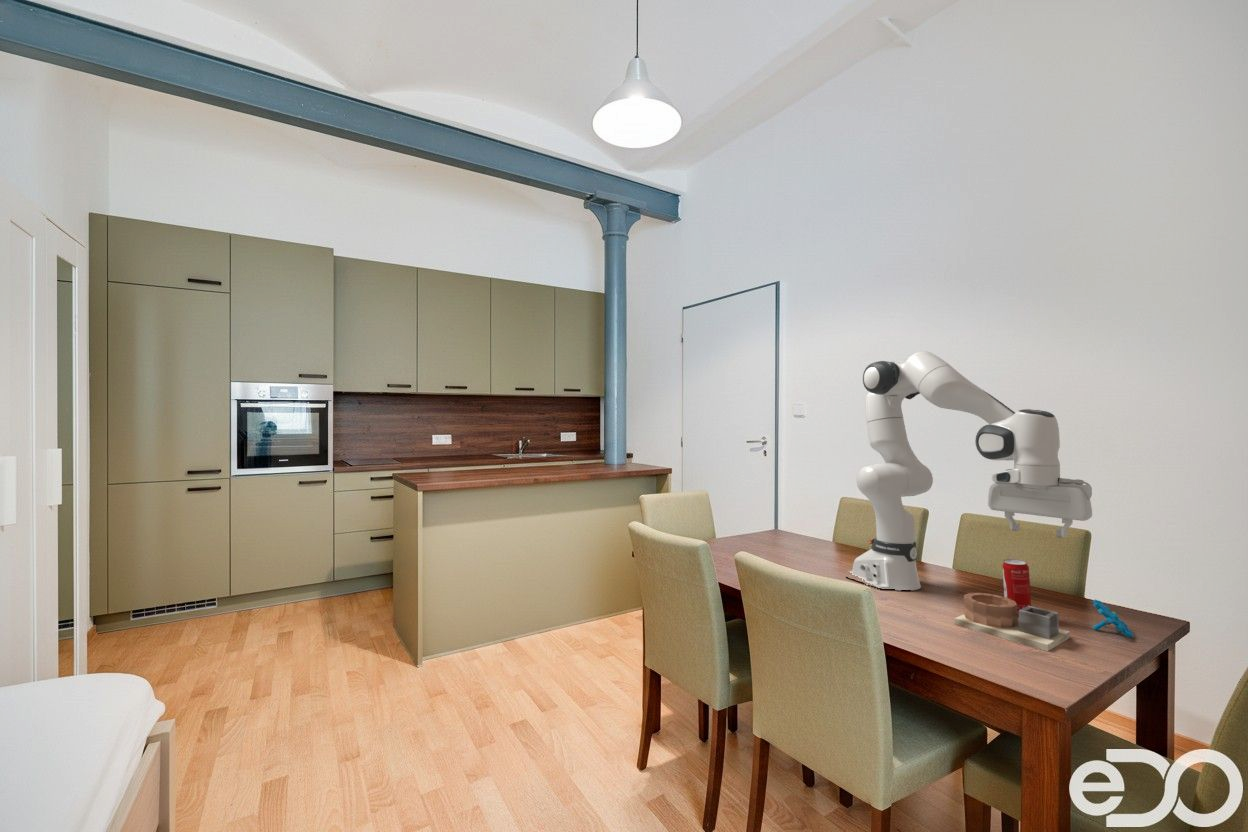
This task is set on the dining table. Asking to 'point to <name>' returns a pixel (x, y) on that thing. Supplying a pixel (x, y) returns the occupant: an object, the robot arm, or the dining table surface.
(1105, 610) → the blue bumpy branched piece
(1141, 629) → the dining table surface
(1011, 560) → the beverage can
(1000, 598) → the cream base plate
